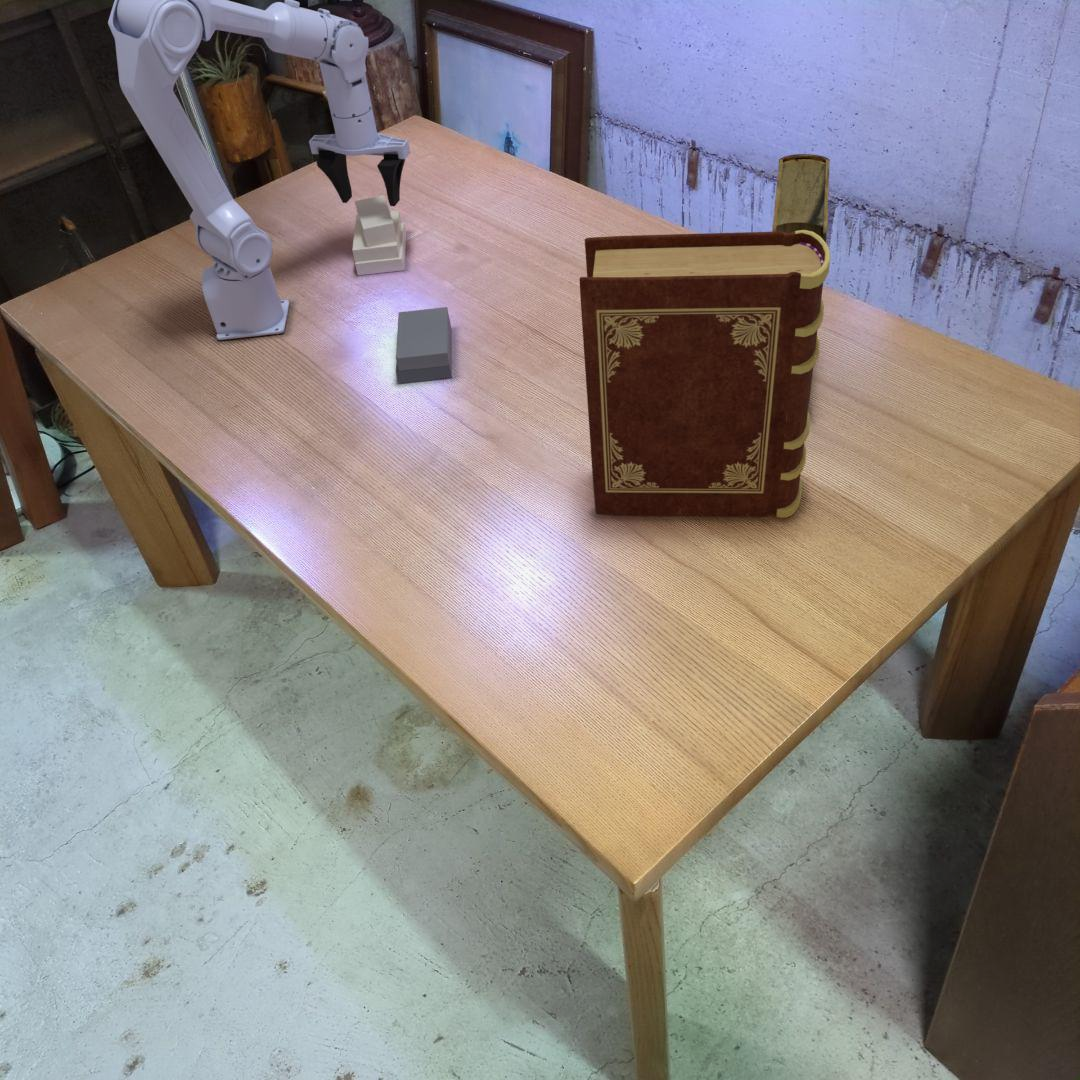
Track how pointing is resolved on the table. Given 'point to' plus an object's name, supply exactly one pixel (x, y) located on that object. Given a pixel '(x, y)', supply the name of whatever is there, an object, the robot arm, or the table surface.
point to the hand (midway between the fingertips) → (371, 201)
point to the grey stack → (424, 345)
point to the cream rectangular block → (376, 221)
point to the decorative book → (701, 370)
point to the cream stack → (380, 250)
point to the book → (802, 194)
